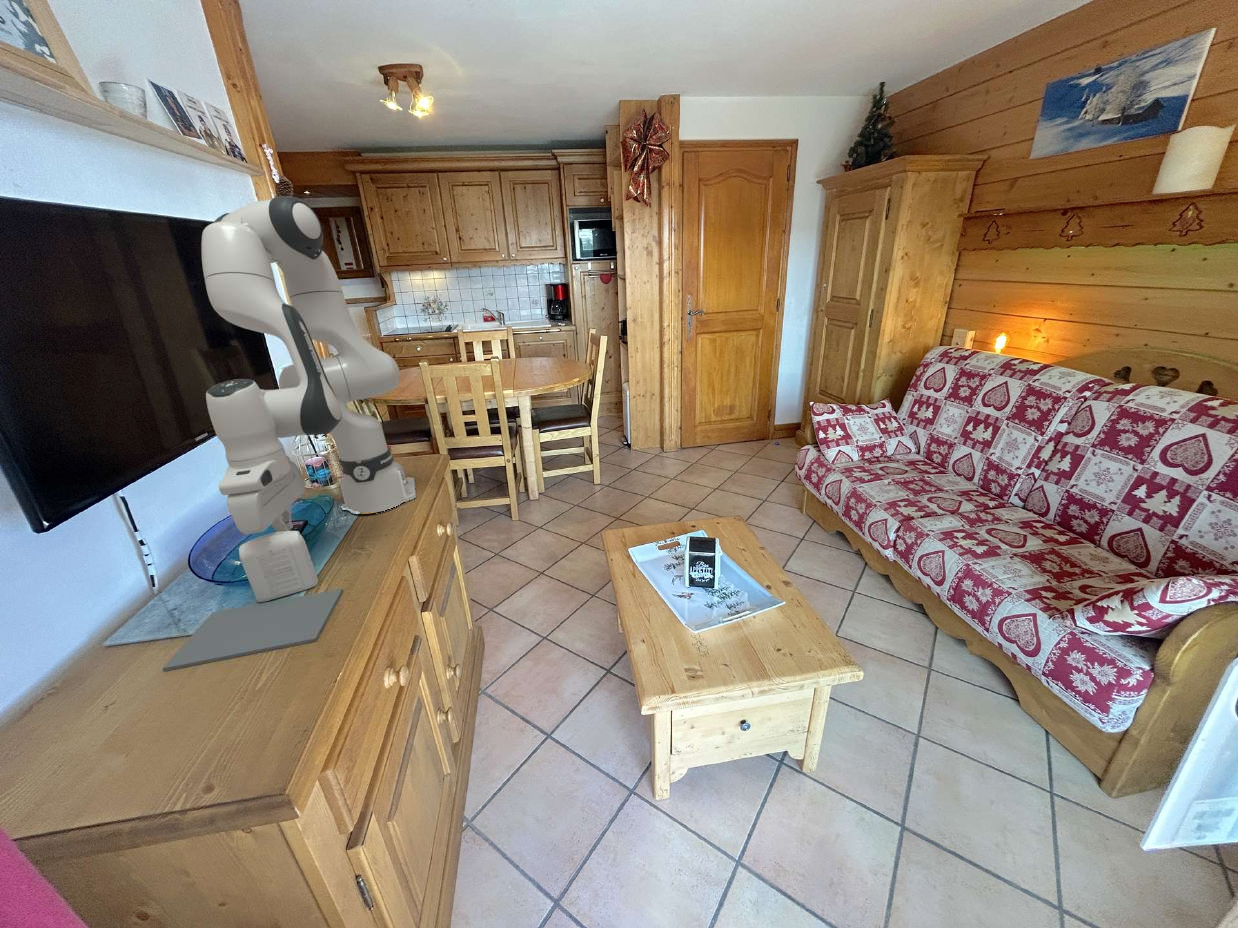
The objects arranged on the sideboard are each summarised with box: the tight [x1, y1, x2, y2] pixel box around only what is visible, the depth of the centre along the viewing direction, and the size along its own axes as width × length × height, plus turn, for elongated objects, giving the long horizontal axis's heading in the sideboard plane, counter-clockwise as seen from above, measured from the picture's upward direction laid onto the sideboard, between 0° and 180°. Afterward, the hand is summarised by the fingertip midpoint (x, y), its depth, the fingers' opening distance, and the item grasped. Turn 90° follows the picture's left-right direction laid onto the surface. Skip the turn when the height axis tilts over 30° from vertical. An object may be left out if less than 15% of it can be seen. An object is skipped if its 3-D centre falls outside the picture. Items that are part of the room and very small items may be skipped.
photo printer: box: [238, 530, 319, 603], centre depth 91 cm, size 10×4×12 cm, turn 119°
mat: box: [162, 588, 344, 672], centre depth 83 cm, size 14×22×1 cm, turn 102°
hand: (285, 532), depth 95 cm, fingers closed
